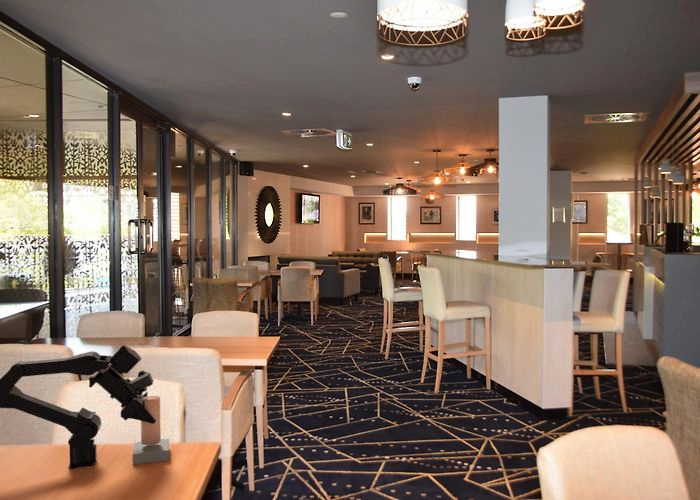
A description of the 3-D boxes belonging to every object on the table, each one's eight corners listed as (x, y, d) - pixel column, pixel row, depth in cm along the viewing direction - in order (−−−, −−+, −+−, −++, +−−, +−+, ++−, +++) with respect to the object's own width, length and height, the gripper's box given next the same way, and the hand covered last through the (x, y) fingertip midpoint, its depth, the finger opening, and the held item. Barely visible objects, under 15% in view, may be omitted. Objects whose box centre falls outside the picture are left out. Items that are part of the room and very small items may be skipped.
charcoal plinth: (132, 464, 168) (132, 454, 168) (134, 452, 178) (134, 442, 178) (169, 460, 171) (168, 450, 171) (168, 448, 181) (168, 438, 181)
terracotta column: (146, 446, 171) (146, 402, 170) (137, 441, 174) (137, 398, 174) (164, 441, 175) (163, 398, 174) (154, 437, 178) (154, 394, 178)
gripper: (132, 372, 164) (174, 408, 167) (139, 358, 182) (176, 390, 185) (102, 402, 162) (145, 438, 165) (112, 384, 180) (150, 417, 183)
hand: (155, 419), depth 175 cm, fingers closed on terracotta column, 5 cm apart
